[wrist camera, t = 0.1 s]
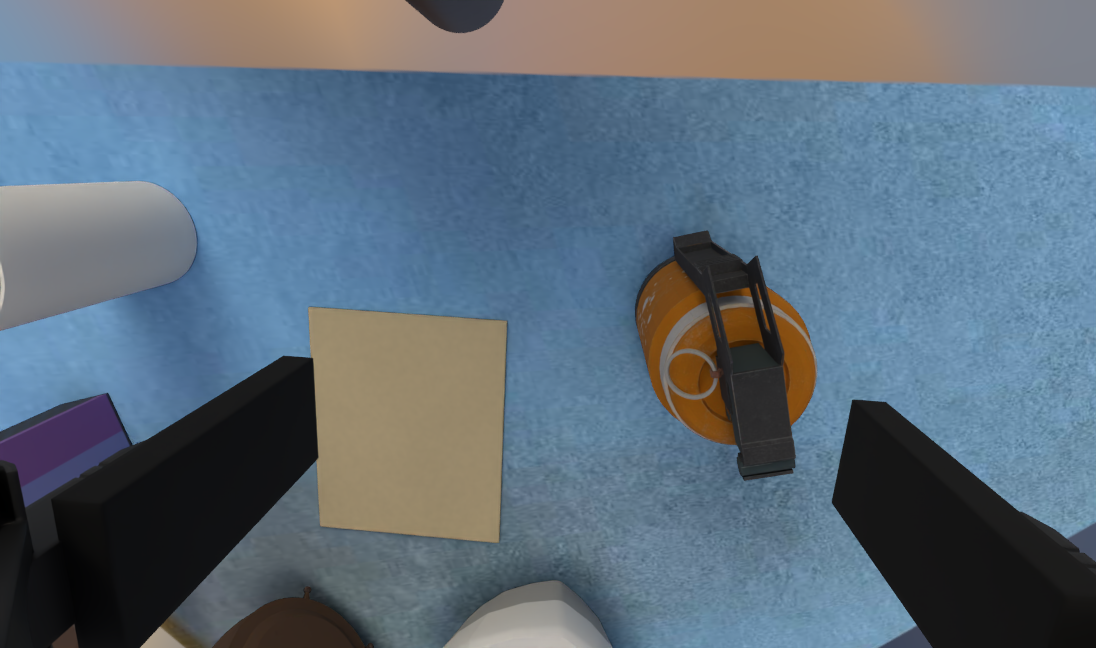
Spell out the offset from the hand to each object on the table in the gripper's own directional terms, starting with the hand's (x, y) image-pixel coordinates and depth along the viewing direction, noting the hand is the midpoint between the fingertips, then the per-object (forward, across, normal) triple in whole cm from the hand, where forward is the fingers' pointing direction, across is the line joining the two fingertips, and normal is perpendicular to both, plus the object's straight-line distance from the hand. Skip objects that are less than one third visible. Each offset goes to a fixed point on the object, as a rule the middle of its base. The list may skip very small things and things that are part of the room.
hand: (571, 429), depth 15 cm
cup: (+32, -35, -1) cm, 47 cm away
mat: (+32, -14, -16) cm, 38 cm away
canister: (+32, +8, -3) cm, 33 cm away
